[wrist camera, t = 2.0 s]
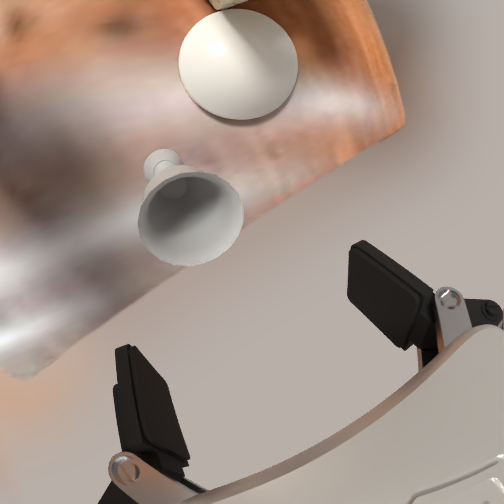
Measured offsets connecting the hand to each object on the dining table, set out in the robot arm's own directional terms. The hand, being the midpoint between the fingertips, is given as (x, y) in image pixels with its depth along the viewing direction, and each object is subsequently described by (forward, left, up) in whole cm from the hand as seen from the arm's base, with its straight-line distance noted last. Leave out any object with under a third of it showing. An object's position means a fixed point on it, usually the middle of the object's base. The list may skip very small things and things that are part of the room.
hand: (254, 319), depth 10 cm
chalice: (0, 0, -28) cm, 28 cm away
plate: (-11, +13, -28) cm, 32 cm away
